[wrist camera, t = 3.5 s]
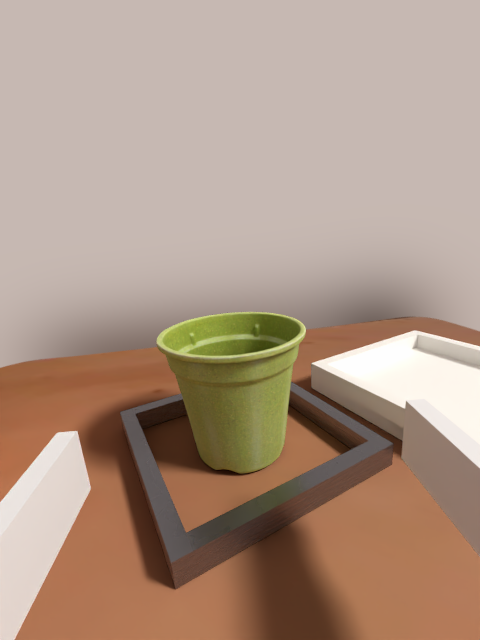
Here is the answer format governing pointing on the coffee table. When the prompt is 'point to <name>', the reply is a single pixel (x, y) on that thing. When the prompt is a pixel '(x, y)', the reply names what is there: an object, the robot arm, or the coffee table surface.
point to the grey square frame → (263, 511)
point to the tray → (405, 380)
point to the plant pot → (235, 383)
